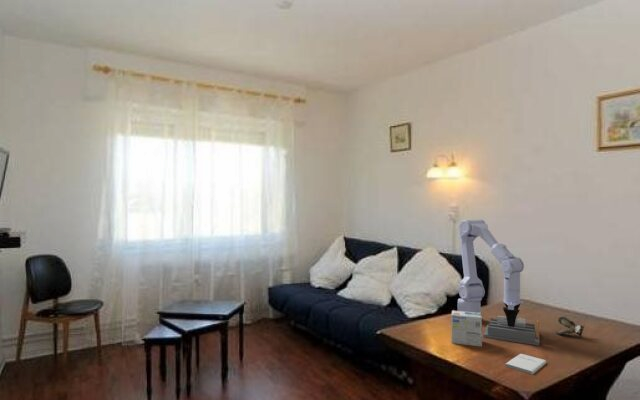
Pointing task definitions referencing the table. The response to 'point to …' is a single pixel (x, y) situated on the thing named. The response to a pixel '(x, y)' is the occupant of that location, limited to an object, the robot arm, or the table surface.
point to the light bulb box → (466, 328)
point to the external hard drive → (526, 363)
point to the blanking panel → (503, 321)
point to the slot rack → (513, 332)
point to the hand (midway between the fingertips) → (511, 323)
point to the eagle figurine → (570, 325)
